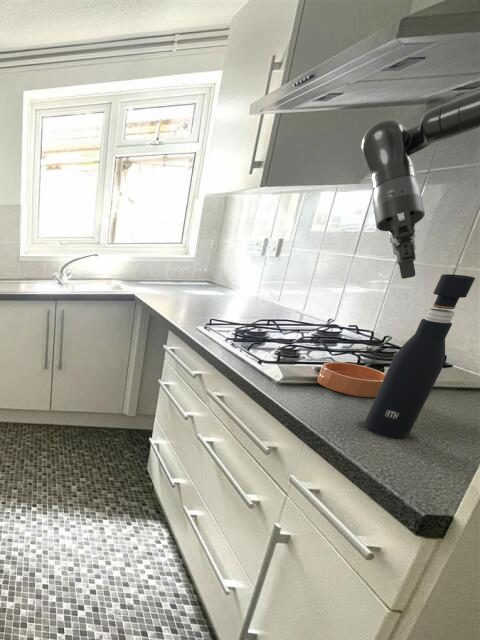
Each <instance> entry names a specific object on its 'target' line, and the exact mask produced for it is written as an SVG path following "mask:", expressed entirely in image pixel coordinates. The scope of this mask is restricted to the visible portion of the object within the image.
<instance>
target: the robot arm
mask: <svg viewBox="0 0 480 640" xmlns="http://www.w3.org/2000/svg"><path fill="white" fill-rule="evenodd" d="M478 129H480V90H479V91H476V92H474V93H471V94H468V95H465V96H463V97H460V98H457V99H454V100H452V101H450V102H447V103H444V104H441V105H439V106H436V107H433V108H431V109H430V110H428V111H426V112H425V114H423V116H422V117H421V120H420V123H418V124H416V125H414V126H412V127H409V128H406V127H405V126H404V125H403V124H402V122H400V121H399V120H396V119H384V120H380V121H378V122H376V123H375V124H373V125H372V126H370V127H369V129H367V131H366V132H365V134H363V137H362V140H361V144H360V145H361V153H362V156H363V159H364V162H365V165H366V167H367V170H368V172H369V176H370V185H371V191H372V207H373V214H374V220H375V226H376V228H377V230H379V231H380V232H388V235H389V242H390V244H391V246H392V247H391V248H392V253H393V255H394V256H396V264H397V266H398V267H399V273H400V278H401V279H402V280H403V279H404V280H405V279H411V278H413V277H415V276H416V269H415V264H414V263H415V261H416V258H417V257H416V252H415V251H416V249H417V248H416V240H415V239H416V236H417V234H416V231H417V230H416V224H417V223H419V222H420V221H422V220H423V218H424V217H425V214H426V213H425V206H424V201H423V197H422V191H421V187H420V184H419V182H418V179H417V174H416V169H415V164H414V161H413V160H412V158H411V157H410V156H412V155H414V154H416V153H418V152H420V151H422V150H425V149H426V148H428V147H430V146H432V145H433V144H436V143H438V142H441V141H445V140H447V139H452V138H455V137H457V136H460V135H464V134H467V133H470V132H472V131H475V130H478Z"/></svg>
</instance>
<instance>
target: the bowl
mask: <svg viewBox="0 0 480 640" xmlns="http://www.w3.org/2000/svg"><path fill="white" fill-rule="evenodd" d="M320 367H321V368H320V371H319V373H318V376H317V378H316V381H317V383H318V384H319V385H320V386H322V387H324V388H327V389H329V390H331V391H333V392H337V393H341V394H345V395H349V396H353V397H362V398H376V395H377V393H378V391H379V389H380V386H381V384H382V382H383V380H384V377H385V375H386V373H385V372H383V371H380V370H378V369H376V368H372V367H369V366H365V365H364V366H363V365H360V364H355V363H349V362H341V361H340V362H339V361H330V362H324V363H322V364H321V366H320Z"/></svg>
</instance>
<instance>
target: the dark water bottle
mask: <svg viewBox="0 0 480 640" xmlns="http://www.w3.org/2000/svg"><path fill="white" fill-rule="evenodd" d="M439 277H440V278H439V280H438V282H437V284H436V286H435V288H434V291H433V292H432V294H433V295H436V298H435V301H434V303H433V304H432V306H433V307H434V308H429V309H428V310H427V311H426V313H427V314H425V315H424V318H421V320H420V322H419V324H418V326H417V329H416V331H415V332H414V334H413V335H412V336H411V337H410V338H409V339H408V340H407V341H405V343H404V344H402V346H401V347H400V348H399V350H398V351H397V352H396V354H395V355H394V356H393V358H392V360H391V361H390V364H389V367H388V369H387V370H386V373H385V374H386V375H385V377H384V380H383V382H382V384H381V386H380V389H379V391H378V393H377V395H376V397H374V400H373V402H372V404H371V407H370V409H369V410H368V412H367V416H366V418H365V420H364V422H363V428H365V429H366V430H368V432H371V433H374V434H376V435H379V436H382V437H385V438H388V439H389V438H390V439H395V440H405V439H407V438H408V437H409V436H410V433H411V431H412V430H413V428H414V425H415V423H416V422H417V419H418V417H419V415H420V413H421V411H422V409H423V408H424V405H425V404H426V402H427V400H428V397H429V395H430V393H431V391H432V389H433V388H434V386H435V384H436V382H437V379H438V378H439V376H440V374H441V372H442V370H443V366H444V363H445V356H446V338H447V337H448V334H449V331H450V329H451V327H452V326H453V323H452V322H451V321H453V317H455V311H453V310H454V309H456V307H457V306H456V305H457V304H458V302H459V300H460V299H462V298H463V299H464V298H467V296H468V294H469V292H470V290H471V288H472V287H473V283H474V282H475V280H476V277H475V276H470V275H462V274H449V273H448V274H447V273H444V274H441V275H440V276H439Z"/></svg>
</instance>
